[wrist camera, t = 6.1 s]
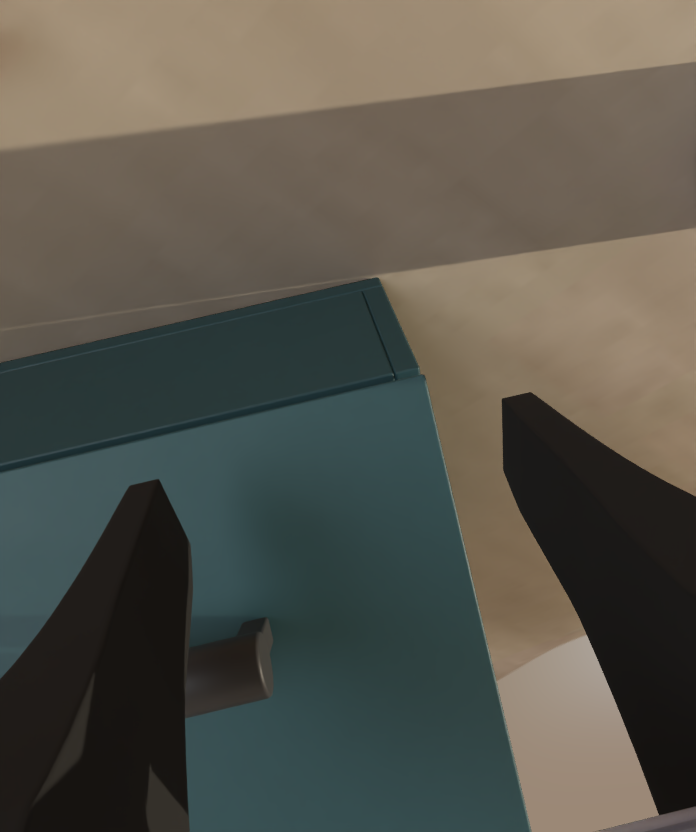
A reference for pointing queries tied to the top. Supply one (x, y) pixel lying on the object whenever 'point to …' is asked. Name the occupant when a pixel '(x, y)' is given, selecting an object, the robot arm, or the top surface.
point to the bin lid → (300, 613)
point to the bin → (199, 372)
